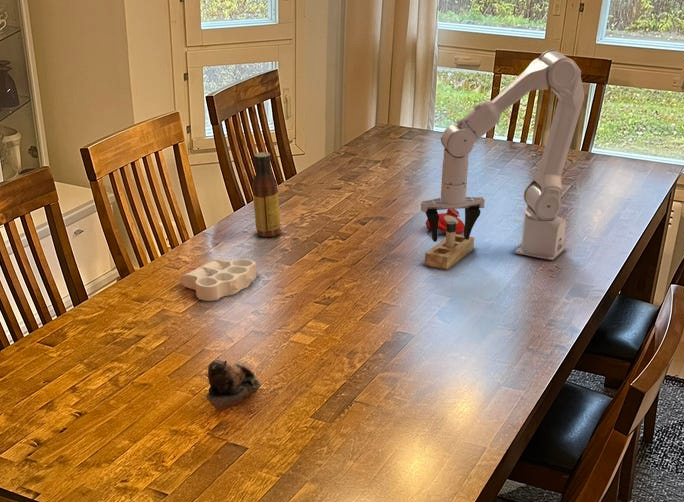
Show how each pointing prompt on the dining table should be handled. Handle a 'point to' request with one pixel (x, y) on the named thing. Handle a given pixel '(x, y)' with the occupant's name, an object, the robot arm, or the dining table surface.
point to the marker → (450, 234)
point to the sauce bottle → (265, 197)
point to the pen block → (448, 252)
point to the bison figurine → (229, 384)
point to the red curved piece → (447, 217)
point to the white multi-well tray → (220, 278)
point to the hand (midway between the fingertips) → (450, 239)
